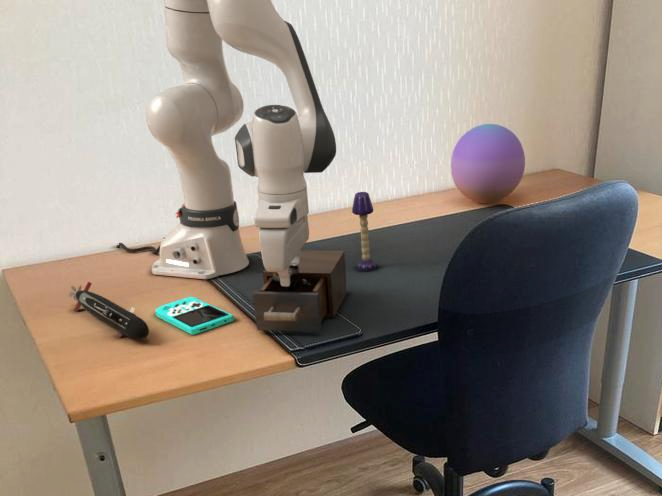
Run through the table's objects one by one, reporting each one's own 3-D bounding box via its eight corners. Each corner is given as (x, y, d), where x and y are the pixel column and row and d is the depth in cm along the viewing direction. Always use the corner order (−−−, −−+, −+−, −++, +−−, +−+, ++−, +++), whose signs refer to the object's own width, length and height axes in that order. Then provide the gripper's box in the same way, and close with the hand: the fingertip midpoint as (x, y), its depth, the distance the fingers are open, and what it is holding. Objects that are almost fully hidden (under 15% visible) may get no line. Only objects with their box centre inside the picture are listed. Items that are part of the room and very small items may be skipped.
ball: (514, 190, 239) (518, 115, 228) (530, 209, 223) (535, 129, 212) (445, 194, 239) (445, 120, 228) (456, 214, 222) (457, 134, 211)
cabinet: (333, 317, 165) (330, 273, 160) (267, 316, 168) (262, 272, 163) (347, 293, 176) (344, 250, 171) (284, 291, 179) (280, 250, 174)
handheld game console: (193, 300, 177) (192, 294, 176) (236, 320, 166) (235, 314, 166) (151, 314, 171) (150, 307, 171) (192, 335, 161) (191, 328, 160)
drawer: (314, 342, 154) (311, 304, 150) (249, 340, 156) (245, 303, 152) (333, 307, 168) (331, 271, 164) (274, 305, 170) (270, 270, 166)
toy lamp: (373, 272, 187) (370, 196, 177) (353, 271, 188) (349, 195, 178) (377, 265, 191) (374, 190, 181) (357, 264, 191) (353, 190, 182)
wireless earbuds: (289, 293, 156) (288, 277, 154) (272, 283, 161) (270, 267, 160) (311, 288, 158) (309, 271, 156) (293, 278, 163) (292, 262, 162)
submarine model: (82, 313, 180) (41, 293, 173) (96, 285, 180) (55, 264, 172) (151, 356, 160) (108, 335, 152) (167, 325, 159) (125, 303, 152)
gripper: (281, 189, 160) (288, 260, 167) (250, 220, 143) (259, 297, 151) (313, 189, 159) (319, 261, 166) (286, 221, 142) (293, 298, 149)
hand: (290, 278), depth 158 cm, fingers closed on wireless earbuds, 5 cm apart
